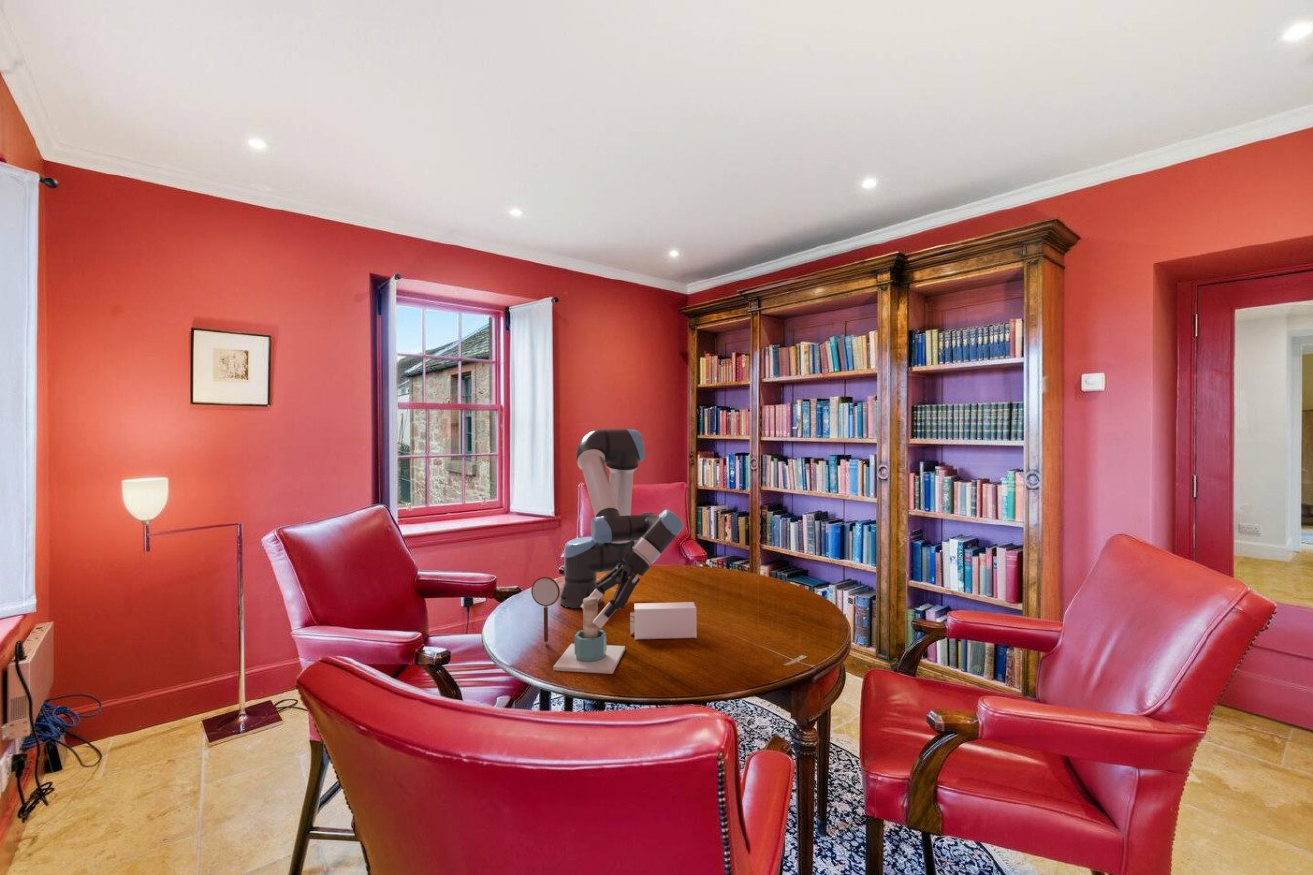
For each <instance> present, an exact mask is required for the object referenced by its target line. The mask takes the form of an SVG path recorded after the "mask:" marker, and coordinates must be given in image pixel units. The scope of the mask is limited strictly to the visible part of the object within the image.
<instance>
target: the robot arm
mask: <svg viewBox="0 0 1313 875" xmlns="http://www.w3.org/2000/svg"><path fill="white" fill-rule="evenodd" d="M645 452H646V448H645V442H644V439H643V437H642V434H641V433H640V431H638V430H637V429H628V428H616V429H615V428H614V429H602V428H601V429H599V428H598V429H594V430H592V431H589V432H588V433H586V434H585V435H584V436H583V437H582V439H581V440H580V442H579V443H578V444H577V446H576V452H575V459H576V463H577V466H578V468H579V469H580V470H582V474H583V479H584V482H585V485H586V489H587V494H588V496H589V497H588V498H589V501H590V503H591V507H592V511H593V515H594V517H593V518H592V519H591V521H590V536H582V537H576V538H573V539H571V540H569V541H567V542H566V543H565V544H564V551H563V552H564V553H563V557H564V561H563V562H564V565H563V566H564V584H563V586H562V590H561V592H560V595H559V604H562V605H563V606H566V607H571V608H570V609H573V608H582V609H583V599H584V598H587V597H595V598H597V599H598V604H599V605H601V603H602V601H603V600H602V597H603V596H605V594H606V592H607V591H608V590H610V589H611V588H613V587H614V586H617V588H616V589H615V592H614V594H613V597H612V599H610V600H609V601H608V603H607V604H606V605H605V606H604V608H603V609H602V610H601V611H600V612H598V616H597V617H596V618H595V619H594V621H593V623H594V624H595V625H597V626H598V629H601V630H602V627H604V625H605V624H606V623H607V622H608V621H609V619H610V618H611V617H612V615H614V613H615V612H616V611H617V610H619V609H620V610H623V609H624V608H625V606H626V604H627V602H628V600H629V599H630V597H631V595H632V593H633V592H634V590H635V588H636V586H637V585H638V583H640V580H641V578H640V577H643V576H644V575H645V574H646V573H647V571H648V570H649V569H650V565H653V564H654V563H655V562H656V561H658V560H659V557H660V556H661V555H662V554H663V552H664V551H665V550H666V549H667V548H668V546H669V545H670V544H671V543H672V542H673V541H674V539H675V538H676V537H677V536H678V535H679V533H681V531H682V530H683V528H684V522H683V520H682V519H681V518H680V517H679V516H677V515H676V514H675V513H674V512H673V511H672V510H669V509H664V510H663V511H662V512H661V513H659V514H656V513H653V512H642V513H640V514H632V503H633V502H632V500H633V498H632V497H633V483H634V472H635V471H636V470H637V469H638V468H639V463H641V462H643V461H644V459H645V456H646V455H645V454H646V453H645ZM606 468H607V469H608V470H609V476H608V472H607V469H606ZM631 514H632V515H631ZM605 572H606V574H605V575H604V576H602V578H600V579H599V580H597V575H598V574H597V573H599V574H600V573H605ZM637 575H639V576H640V577H639V576H637ZM563 606H562V607H563ZM566 607H565V608H566Z"/></svg>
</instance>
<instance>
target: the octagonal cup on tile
mask: <svg viewBox="0 0 1313 875" xmlns="http://www.w3.org/2000/svg"><path fill="white" fill-rule="evenodd" d="M573 636H574V637H573V638H574V643H572V642H571V643H570V645H569V646H568V647H567V648H566V650H565V651H564V652H563V653H562V655H561V656H560V657H559V659H558V660H557V661H556V662H555V664H554V665H553V667H552V670H553V671H561V672H573V673H574V672H575V673H576V672H577V673H594V674H595V673H596V674H611V675H613V674H614V672H615V671H616V669H617V666H618V664H619V662H620V660H621V658H622V657H623V655H624V653H625V651H626V645H610V644H609V645H608V644H607V632H606V631H604V630H602V628H601V629H600V628H598V637H597V638H593V639H586V638H583V629H582V630H578V631H577V632H576V633H575V635H573Z"/></svg>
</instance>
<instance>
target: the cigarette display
mask: <svg viewBox="0 0 1313 875" xmlns="http://www.w3.org/2000/svg"><path fill="white" fill-rule="evenodd" d="M633 604H634V607H633V608H634V610H633V611H630V613H629V617H630V618H629V620H630V621H629V625H630V627H629V628H630V629H629V630H630V636H634V641H635V640H655V639H656V640H657V639H659V640H661V639H663V640H664V639H665V640H667V639H694V638H695V639H697V635H698V634H697V629H698V628H697V627H698V626H697V606H696V604H695V602H694V601H686V602H684V601H683V602H646V603H645V602H644V603H642V602H638V603H633Z"/></svg>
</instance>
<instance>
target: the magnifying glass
mask: <svg viewBox="0 0 1313 875" xmlns="http://www.w3.org/2000/svg"><path fill="white" fill-rule="evenodd" d="M560 596H561V590H560V587H559V583H557V581H556V580H555V579H554V578H552V577H549V576H541V577H538V578H537V579H536V580H534V582H533V583H532V586H531V597H532V598H533V600H534V601H535V603H537V605H540V606H543V642H544V644H545V645H548V642H549V611H548V610H549V608H548V607H549V606H552V605H554V604H555V603H556V602H558V600H559V599H560Z"/></svg>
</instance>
